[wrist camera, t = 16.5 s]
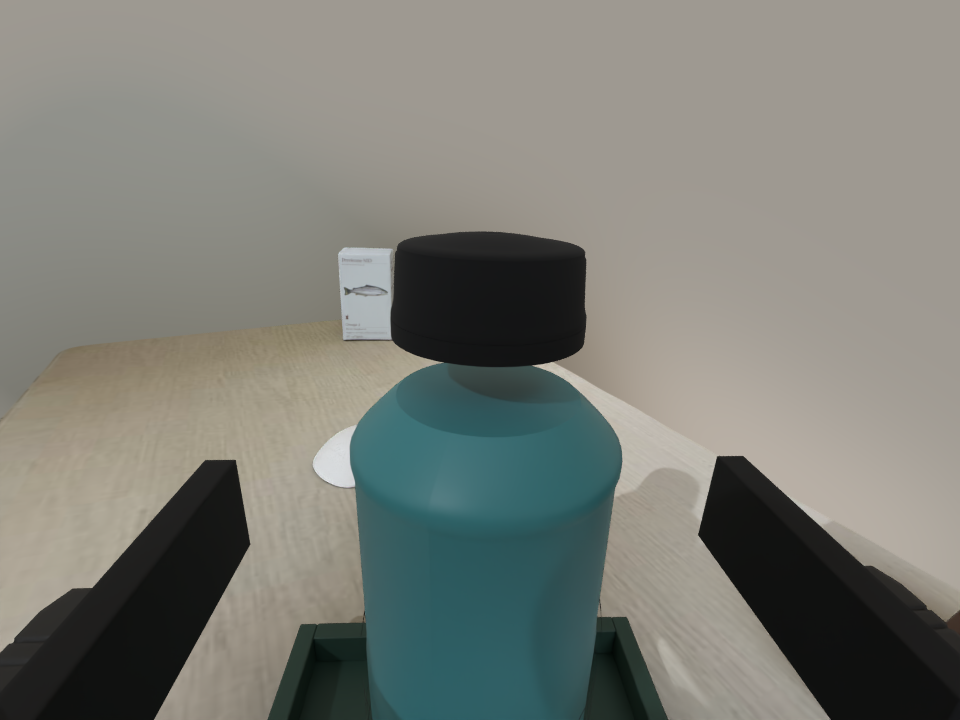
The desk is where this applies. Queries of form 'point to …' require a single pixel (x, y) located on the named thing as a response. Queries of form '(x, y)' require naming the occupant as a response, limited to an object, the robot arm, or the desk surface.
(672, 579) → the desk surface
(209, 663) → the desk surface
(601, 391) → the desk surface
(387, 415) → the beverage bottle
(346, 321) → the white packaging box
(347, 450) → the computer mouse
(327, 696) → the tray
